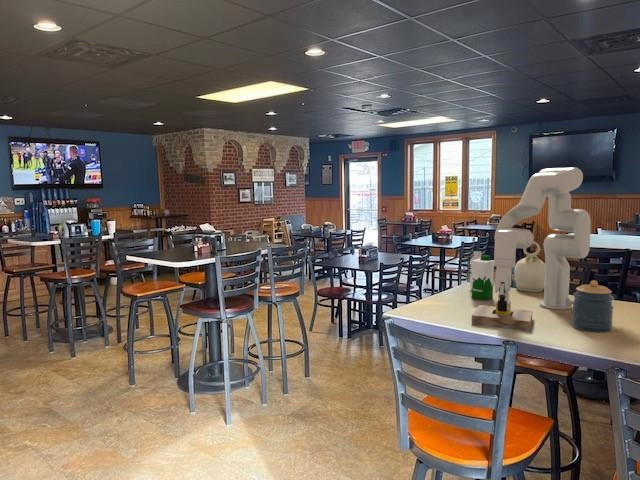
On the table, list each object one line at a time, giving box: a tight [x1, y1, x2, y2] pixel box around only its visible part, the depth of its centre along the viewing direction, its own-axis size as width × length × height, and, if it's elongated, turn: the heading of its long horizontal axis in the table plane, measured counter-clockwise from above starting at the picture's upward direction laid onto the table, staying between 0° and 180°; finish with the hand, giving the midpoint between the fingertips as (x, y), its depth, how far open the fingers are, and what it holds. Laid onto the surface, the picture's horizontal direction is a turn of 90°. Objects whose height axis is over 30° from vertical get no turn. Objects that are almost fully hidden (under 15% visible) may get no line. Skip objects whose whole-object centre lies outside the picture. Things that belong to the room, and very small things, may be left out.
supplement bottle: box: [495, 293, 512, 316], centre depth 181 cm, size 5×5×10 cm
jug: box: [513, 241, 545, 293], centre depth 241 cm, size 15×16×25 cm
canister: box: [571, 279, 615, 333], centre depth 173 cm, size 13×13×18 cm
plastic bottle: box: [469, 250, 483, 291], centre depth 238 cm, size 6×7×20 cm
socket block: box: [471, 304, 534, 332], centre depth 181 cm, size 20×18×4 cm
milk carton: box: [470, 254, 495, 301], centre depth 221 cm, size 9×9×20 cm
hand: (503, 308), depth 181 cm, fingers closed on supplement bottle, 5 cm apart
